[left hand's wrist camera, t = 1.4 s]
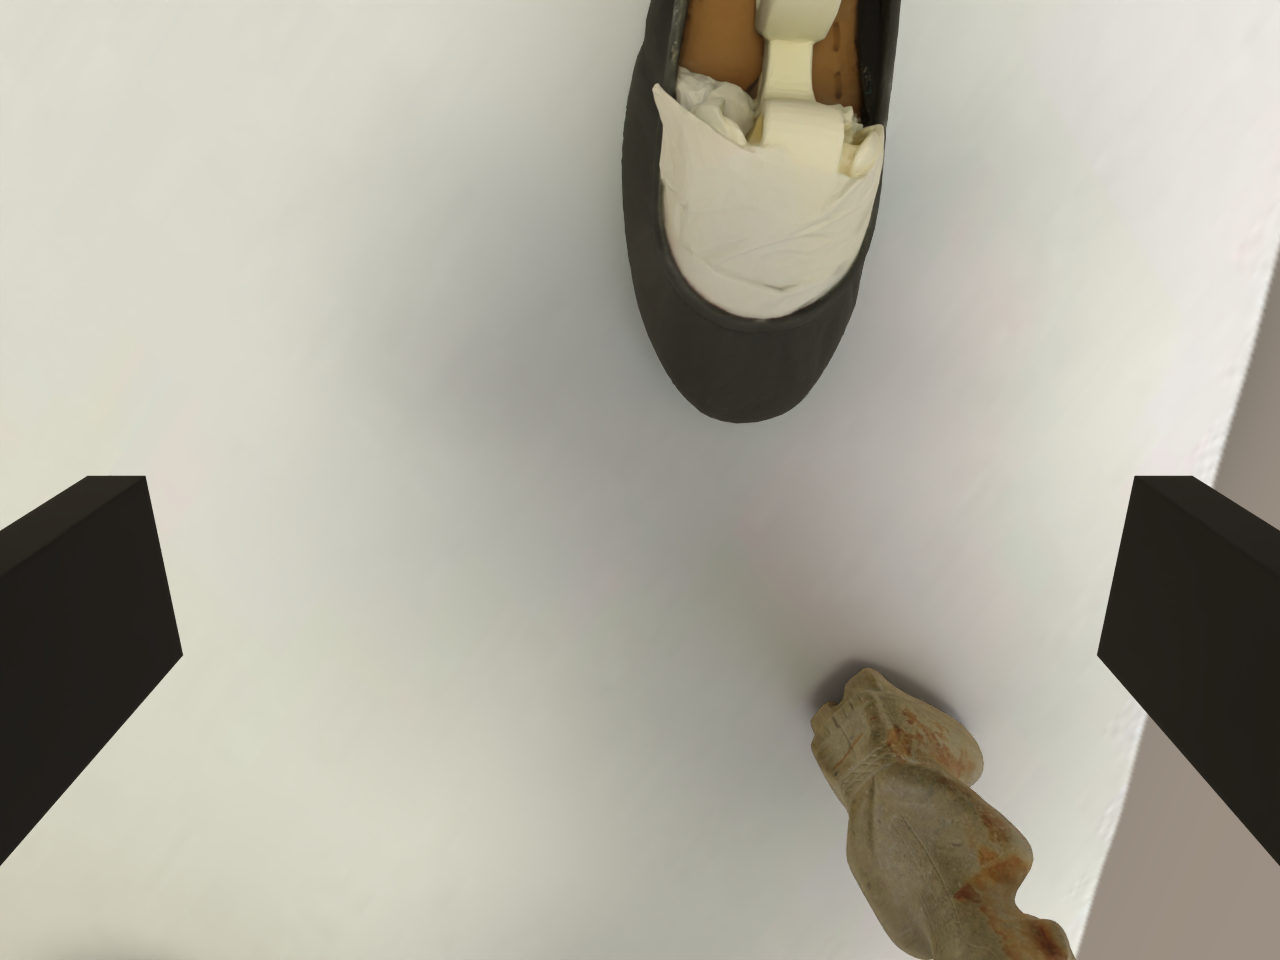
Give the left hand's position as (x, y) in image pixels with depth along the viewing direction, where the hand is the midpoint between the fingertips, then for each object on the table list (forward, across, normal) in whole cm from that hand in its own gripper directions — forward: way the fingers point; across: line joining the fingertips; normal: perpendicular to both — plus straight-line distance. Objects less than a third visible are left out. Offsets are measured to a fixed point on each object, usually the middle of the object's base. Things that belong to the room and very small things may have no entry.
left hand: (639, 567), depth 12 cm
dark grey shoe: (+22, -4, -8) cm, 23 cm away
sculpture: (+22, -10, +18) cm, 30 cm away
